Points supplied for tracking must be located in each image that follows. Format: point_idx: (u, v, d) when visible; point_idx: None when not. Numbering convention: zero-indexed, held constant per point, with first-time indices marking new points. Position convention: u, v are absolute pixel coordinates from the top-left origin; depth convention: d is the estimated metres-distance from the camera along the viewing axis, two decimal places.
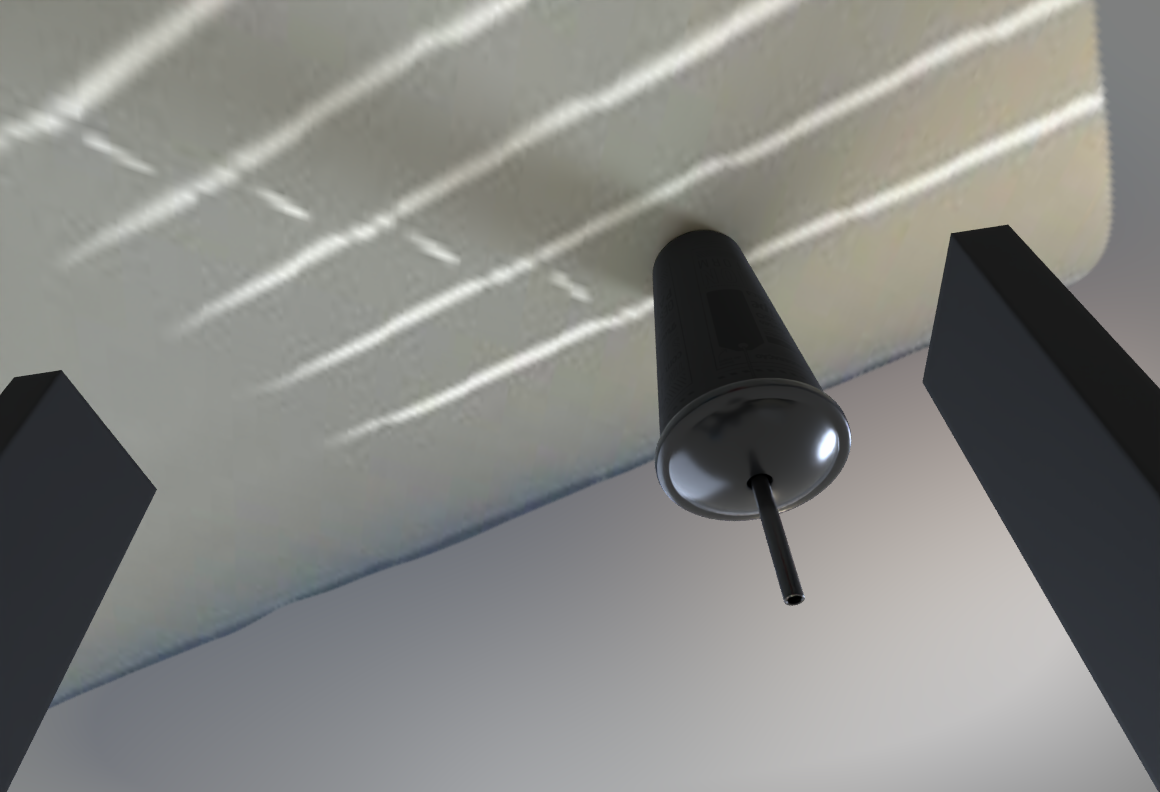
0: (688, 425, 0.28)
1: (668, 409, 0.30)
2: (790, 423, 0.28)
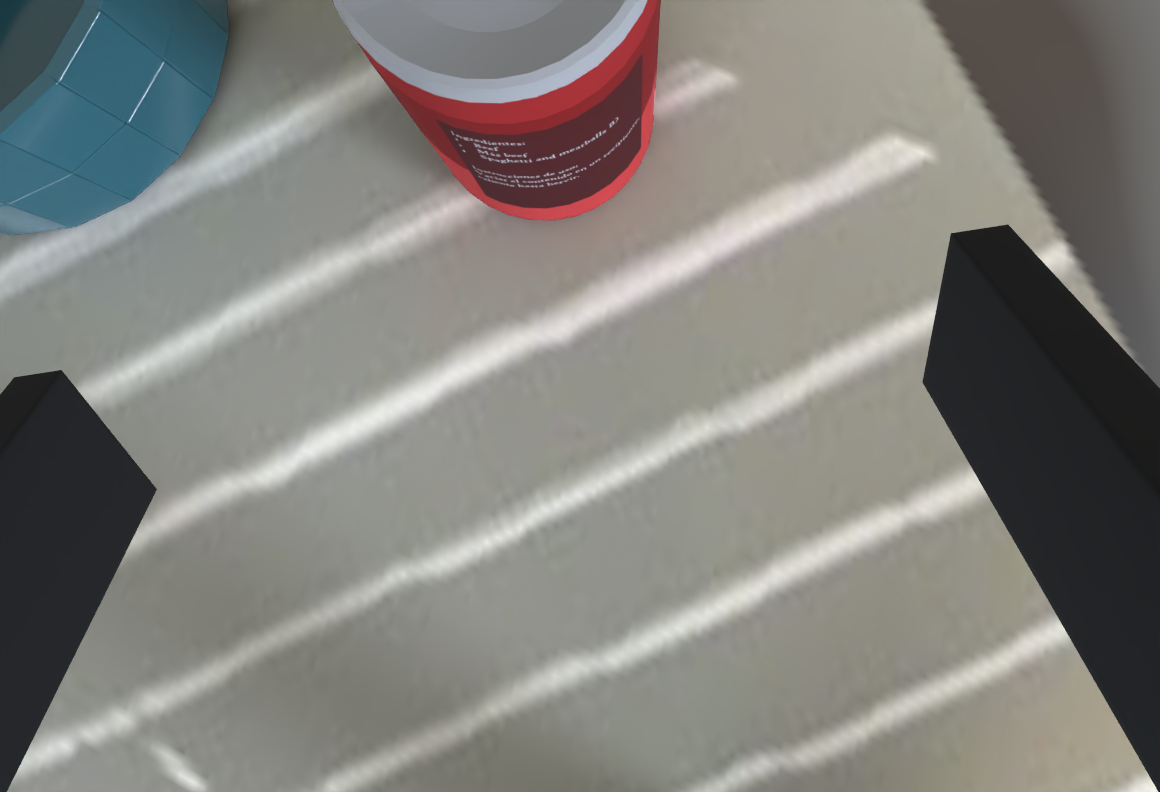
0: None
1: None
2: None
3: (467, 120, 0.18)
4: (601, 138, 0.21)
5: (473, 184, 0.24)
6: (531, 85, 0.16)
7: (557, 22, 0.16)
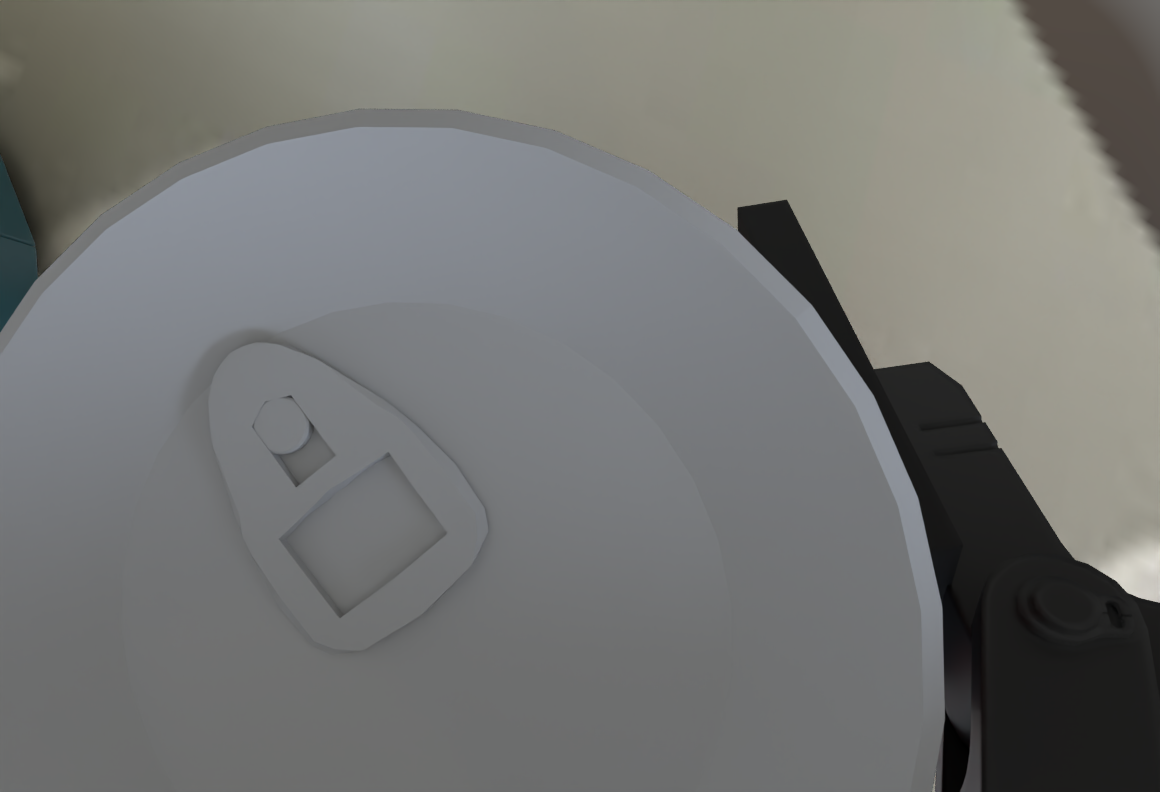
0: None
1: None
2: None
3: None
4: None
5: None
6: None
7: None
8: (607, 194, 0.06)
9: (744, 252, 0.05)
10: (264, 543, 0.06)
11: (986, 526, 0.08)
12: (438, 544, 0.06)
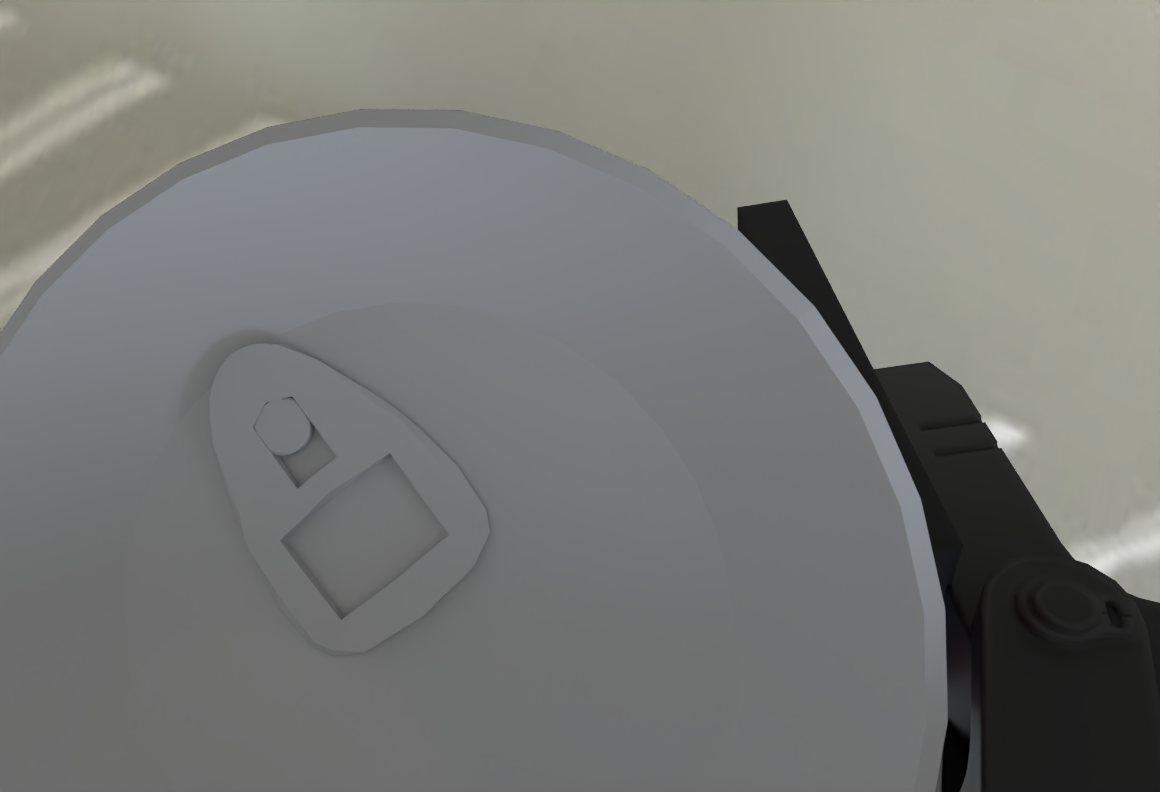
0: None
1: None
2: None
3: None
4: None
5: None
6: None
7: None
8: (609, 195, 0.06)
9: (746, 253, 0.05)
10: (265, 545, 0.06)
11: (986, 525, 0.08)
12: (439, 544, 0.06)
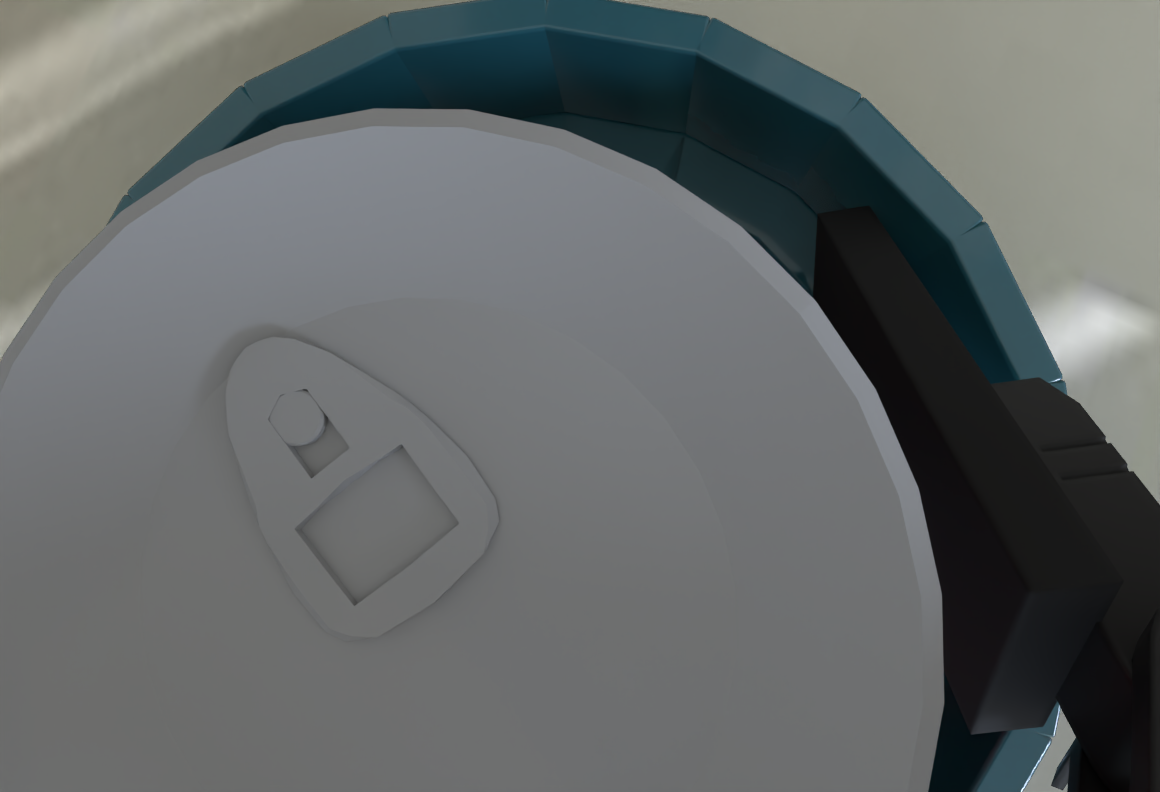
0: None
1: None
2: None
3: None
4: None
5: None
6: None
7: None
8: (615, 192, 0.06)
9: (749, 249, 0.06)
10: (281, 534, 0.06)
11: (1130, 556, 0.07)
12: (449, 532, 0.06)
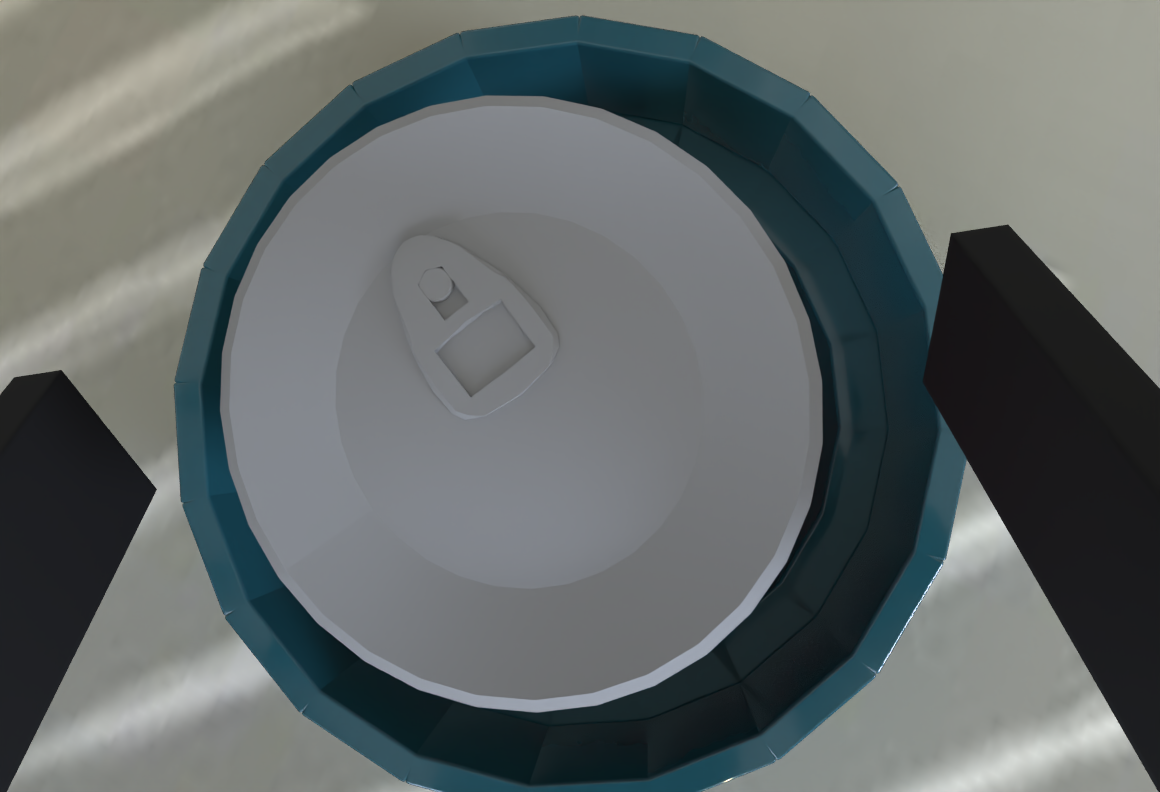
0: None
1: None
2: None
3: None
4: None
5: None
6: (594, 702, 0.09)
7: (640, 585, 0.09)
8: (632, 145, 0.10)
9: (711, 179, 0.09)
10: (424, 356, 0.10)
11: None
12: (529, 352, 0.10)
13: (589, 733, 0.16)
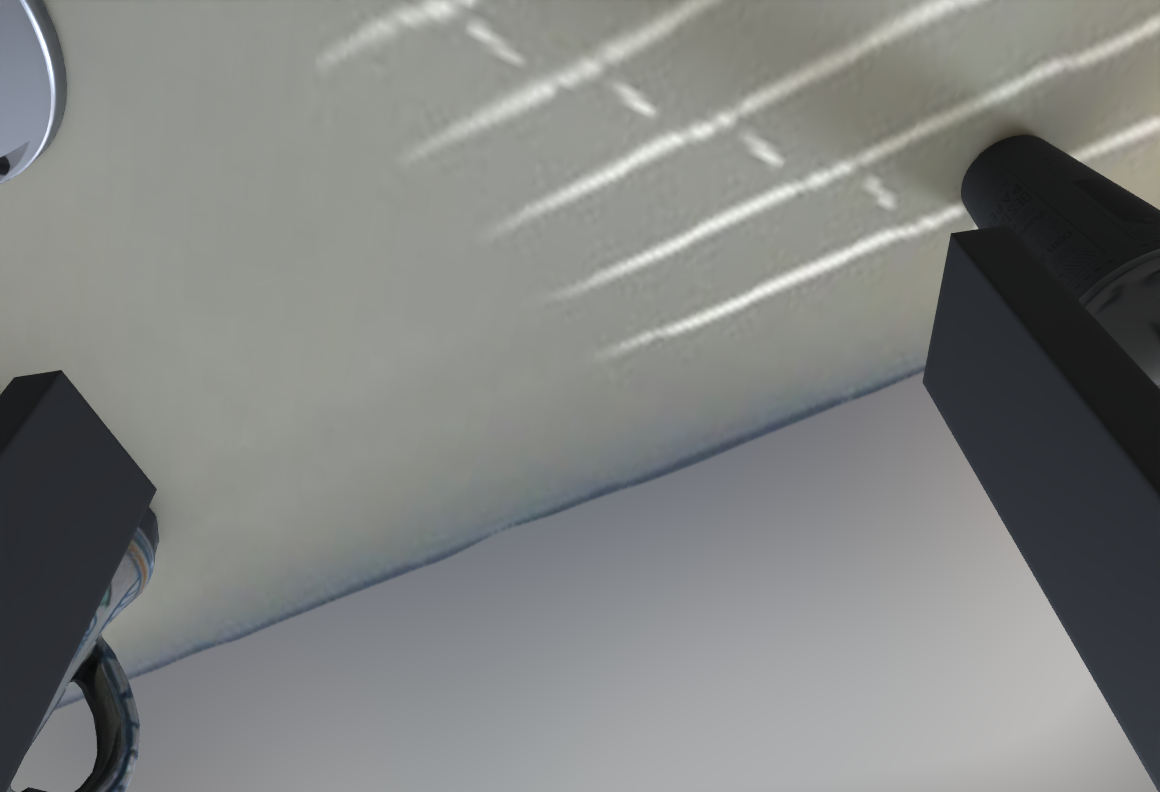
0: (1117, 289, 0.30)
1: (1073, 281, 0.31)
2: None
3: None
4: None
5: None
6: None
7: None
8: None
9: None
10: None
11: None
12: None
13: None
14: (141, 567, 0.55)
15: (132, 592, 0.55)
